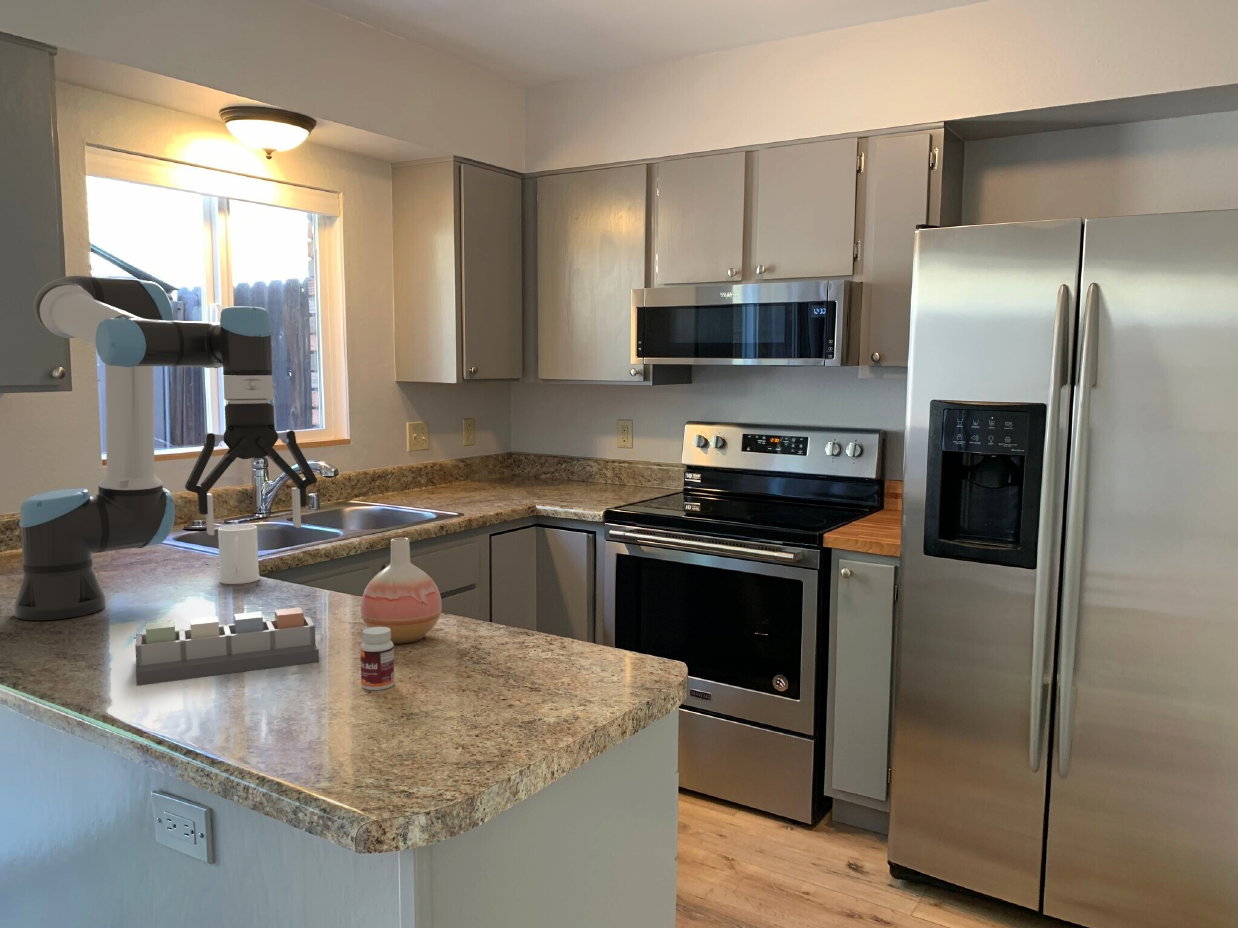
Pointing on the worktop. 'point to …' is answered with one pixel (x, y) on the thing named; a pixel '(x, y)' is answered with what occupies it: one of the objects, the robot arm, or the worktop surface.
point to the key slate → (248, 622)
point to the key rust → (289, 618)
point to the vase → (401, 598)
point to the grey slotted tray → (224, 652)
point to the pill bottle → (377, 659)
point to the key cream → (204, 627)
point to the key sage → (160, 632)
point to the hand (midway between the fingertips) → (254, 530)
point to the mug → (238, 554)
